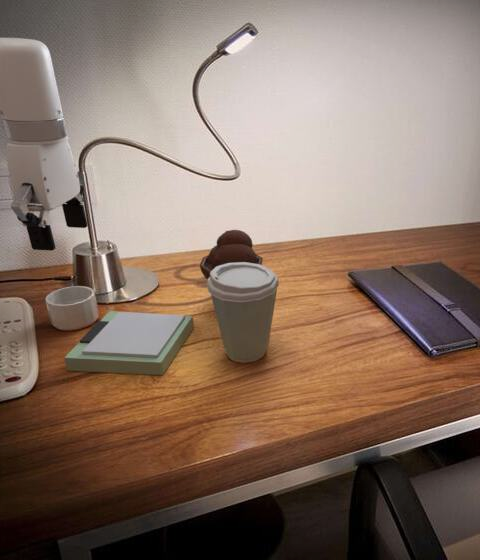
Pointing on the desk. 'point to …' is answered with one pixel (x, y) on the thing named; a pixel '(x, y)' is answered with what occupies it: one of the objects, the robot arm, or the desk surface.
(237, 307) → the disposable coffee cup
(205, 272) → the ice cream bowl
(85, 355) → the scale
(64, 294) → the bowl
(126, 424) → the desk surface
